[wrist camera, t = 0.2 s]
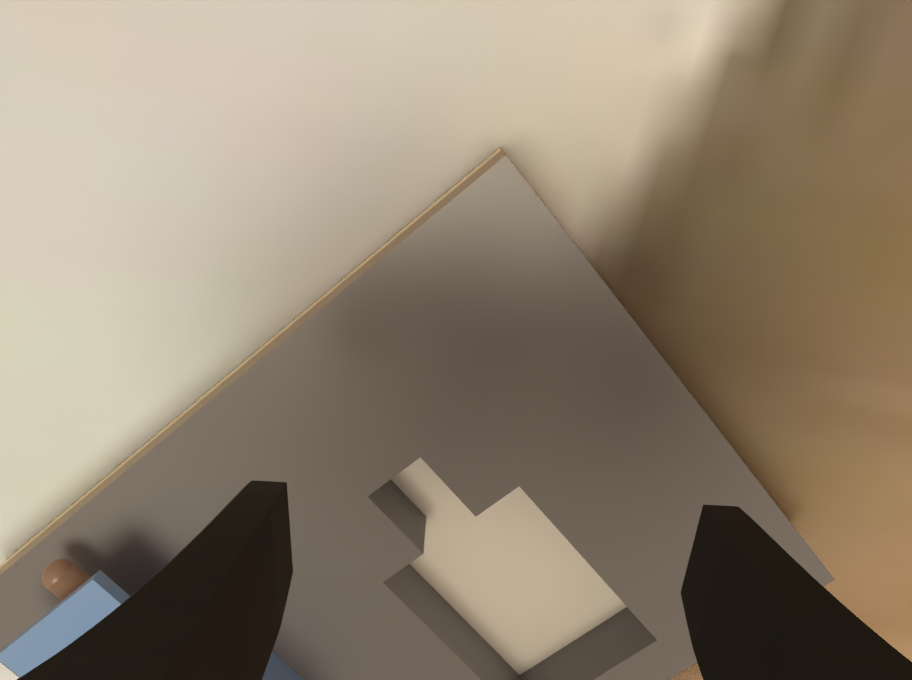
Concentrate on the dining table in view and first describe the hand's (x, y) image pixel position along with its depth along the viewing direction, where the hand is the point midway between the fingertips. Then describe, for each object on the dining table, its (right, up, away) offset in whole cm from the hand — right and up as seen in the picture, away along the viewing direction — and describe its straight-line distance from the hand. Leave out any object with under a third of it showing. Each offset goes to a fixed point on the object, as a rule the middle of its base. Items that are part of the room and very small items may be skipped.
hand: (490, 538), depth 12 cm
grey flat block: (-3, -4, +12) cm, 13 cm away
